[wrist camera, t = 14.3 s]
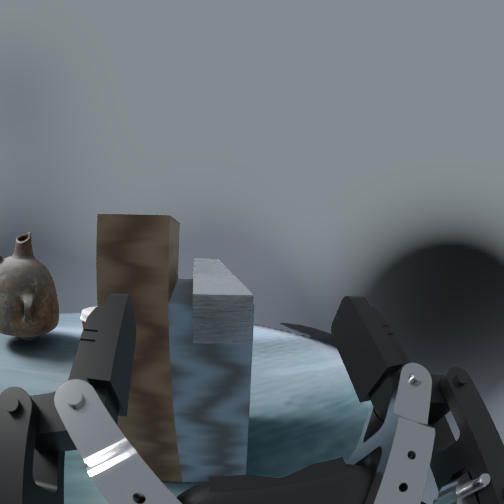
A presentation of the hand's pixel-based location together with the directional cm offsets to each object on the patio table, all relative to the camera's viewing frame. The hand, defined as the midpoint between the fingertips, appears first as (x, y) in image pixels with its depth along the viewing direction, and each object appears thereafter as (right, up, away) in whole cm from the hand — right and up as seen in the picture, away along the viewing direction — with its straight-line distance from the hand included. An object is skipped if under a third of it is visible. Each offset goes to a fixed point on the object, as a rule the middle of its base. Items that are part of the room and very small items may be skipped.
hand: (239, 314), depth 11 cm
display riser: (-9, -26, +24) cm, 37 cm away
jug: (-62, -23, +50) cm, 82 cm away
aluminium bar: (-4, -2, +19) cm, 20 cm away
